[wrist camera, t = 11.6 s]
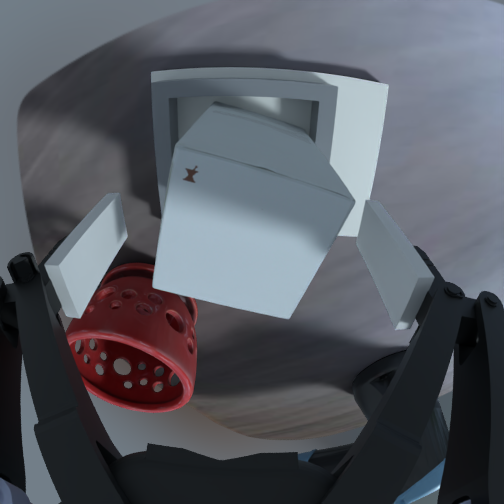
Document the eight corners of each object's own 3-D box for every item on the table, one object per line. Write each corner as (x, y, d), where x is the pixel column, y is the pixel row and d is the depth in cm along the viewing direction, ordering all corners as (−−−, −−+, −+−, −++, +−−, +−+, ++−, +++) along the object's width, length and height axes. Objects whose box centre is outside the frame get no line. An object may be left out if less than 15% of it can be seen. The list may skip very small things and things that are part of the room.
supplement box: (189, 184, 24) (144, 289, 14) (214, 98, 20) (172, 137, 10) (274, 209, 26) (289, 325, 15) (308, 129, 22) (361, 199, 11)
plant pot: (223, 322, 36) (215, 412, 26) (133, 336, 38) (110, 413, 28) (177, 232, 29) (144, 328, 19) (79, 262, 31) (32, 341, 21)
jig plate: (356, 228, 28) (368, 252, 25) (167, 222, 28) (156, 246, 25) (381, 83, 20) (402, 88, 17) (156, 71, 20) (139, 73, 17)
